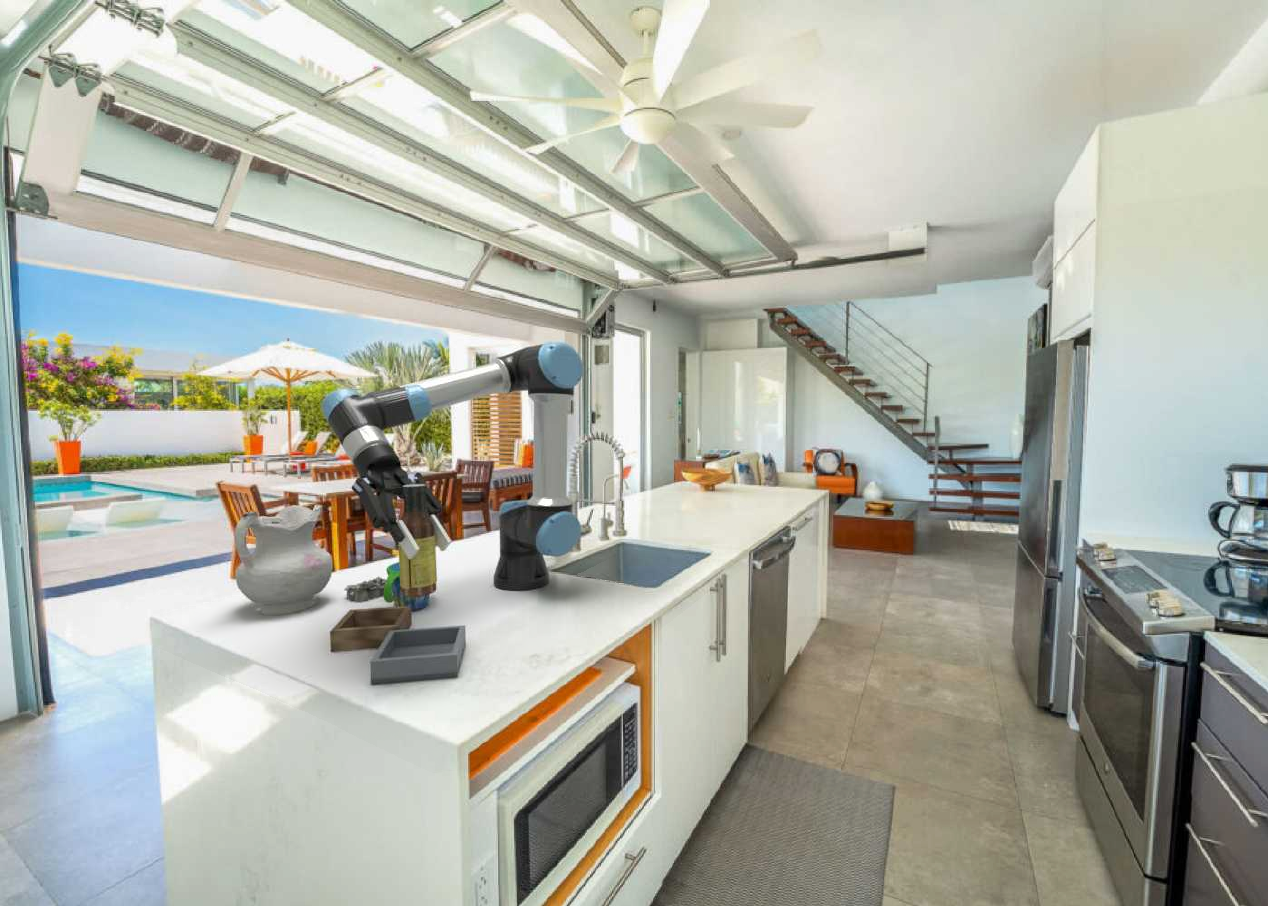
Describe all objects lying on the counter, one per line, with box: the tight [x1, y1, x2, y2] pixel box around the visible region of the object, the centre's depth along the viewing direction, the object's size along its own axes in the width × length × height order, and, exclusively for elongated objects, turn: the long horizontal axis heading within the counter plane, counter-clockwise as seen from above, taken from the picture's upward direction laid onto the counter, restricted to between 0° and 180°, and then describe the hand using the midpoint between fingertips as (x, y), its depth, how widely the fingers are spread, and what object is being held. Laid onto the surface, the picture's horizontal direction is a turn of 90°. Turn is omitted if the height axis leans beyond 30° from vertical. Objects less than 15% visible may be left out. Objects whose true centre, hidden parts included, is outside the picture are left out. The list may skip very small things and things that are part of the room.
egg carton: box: [343, 576, 392, 603], centre depth 138 cm, size 10×7×4 cm
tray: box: [369, 624, 467, 686], centre depth 99 cm, size 14×14×4 cm
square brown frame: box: [329, 606, 413, 652], centre depth 111 cm, size 12×12×4 cm
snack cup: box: [382, 561, 431, 612], centre depth 129 cm, size 16×10×10 cm
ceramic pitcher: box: [233, 503, 334, 617], centre depth 127 cm, size 22×20×25 cm
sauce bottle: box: [398, 483, 438, 597], centre depth 97 cm, size 6×6×20 cm
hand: (430, 550), depth 96 cm, fingers closed on sauce bottle, 6 cm apart
